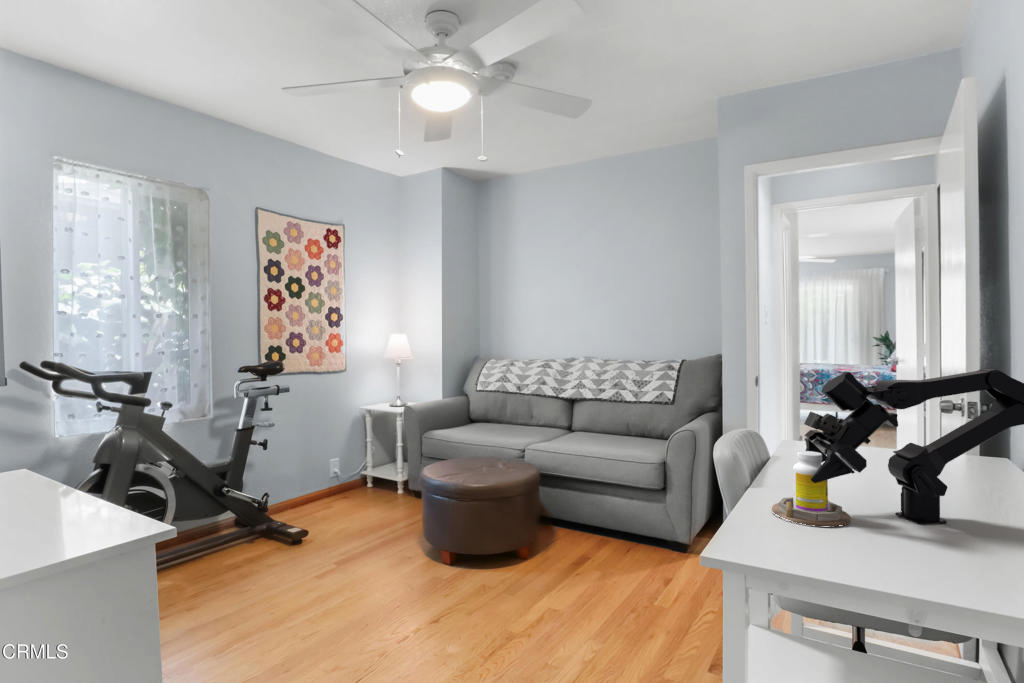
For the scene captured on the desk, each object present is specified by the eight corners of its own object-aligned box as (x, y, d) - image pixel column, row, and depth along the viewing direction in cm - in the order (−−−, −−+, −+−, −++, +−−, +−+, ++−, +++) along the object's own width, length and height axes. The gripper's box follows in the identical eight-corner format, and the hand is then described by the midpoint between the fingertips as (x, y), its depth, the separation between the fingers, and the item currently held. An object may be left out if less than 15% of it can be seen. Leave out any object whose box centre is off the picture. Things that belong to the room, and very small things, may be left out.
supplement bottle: (832, 517, 116) (831, 456, 116) (798, 515, 118) (797, 455, 118) (822, 508, 123) (821, 450, 123) (790, 506, 124) (789, 449, 124)
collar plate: (867, 525, 114) (867, 506, 114) (799, 529, 112) (799, 510, 112) (818, 503, 129) (818, 487, 129) (758, 506, 127) (758, 490, 127)
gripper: (813, 394, 129) (764, 441, 130) (849, 404, 110) (790, 458, 112) (850, 429, 127) (800, 475, 129) (892, 444, 109) (833, 498, 111)
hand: (804, 476), depth 120 cm, fingers open, 9 cm apart
